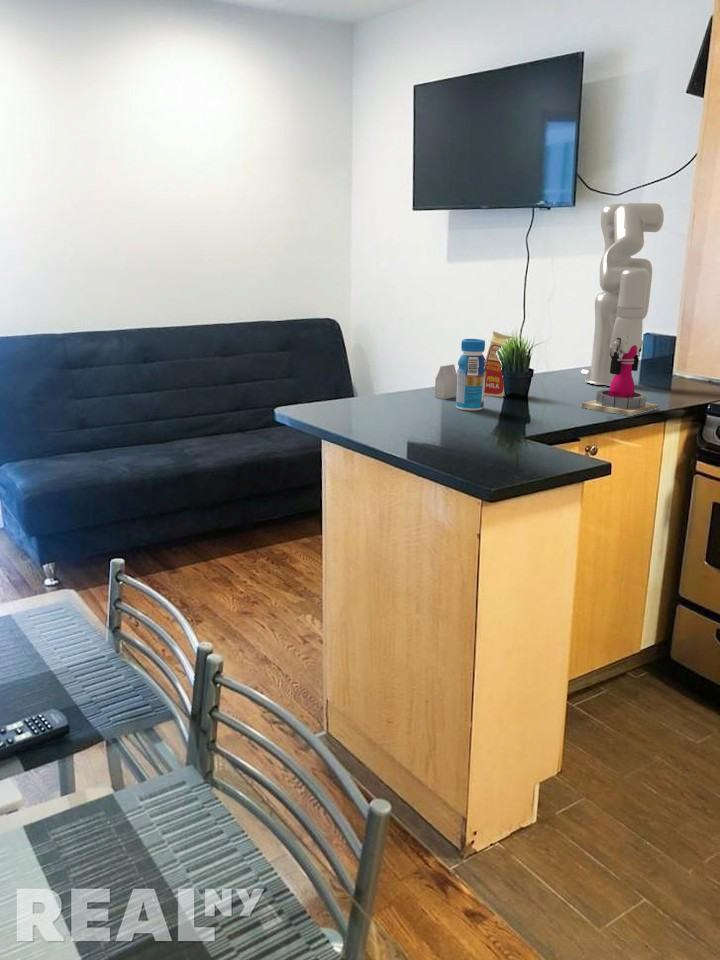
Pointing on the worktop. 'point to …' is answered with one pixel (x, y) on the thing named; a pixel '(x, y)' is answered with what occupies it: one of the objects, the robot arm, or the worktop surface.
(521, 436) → the worktop surface
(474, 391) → the beverage bottle
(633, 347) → the pepper mill
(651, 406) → the birch board
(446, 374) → the tea bag
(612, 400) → the steel ring collar
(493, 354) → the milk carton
